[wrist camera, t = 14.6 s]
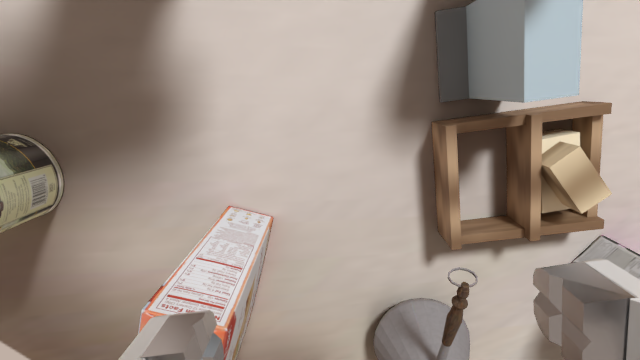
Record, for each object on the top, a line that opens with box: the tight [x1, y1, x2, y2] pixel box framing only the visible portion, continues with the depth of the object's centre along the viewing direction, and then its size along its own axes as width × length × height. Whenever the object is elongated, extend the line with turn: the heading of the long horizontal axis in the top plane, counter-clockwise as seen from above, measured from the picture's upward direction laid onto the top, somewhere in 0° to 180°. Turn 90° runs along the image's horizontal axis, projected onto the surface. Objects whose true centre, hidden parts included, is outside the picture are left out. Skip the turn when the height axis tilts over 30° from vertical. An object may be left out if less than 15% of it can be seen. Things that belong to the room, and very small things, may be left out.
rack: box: [432, 101, 612, 250], centre depth 37 cm, size 13×16×5 cm
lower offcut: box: [541, 129, 580, 213], centre depth 38 cm, size 8×4×4 cm, turn 11°
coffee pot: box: [374, 267, 477, 360], centre depth 37 cm, size 21×12×15 cm, turn 2°
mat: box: [435, 7, 469, 102], centre depth 36 cm, size 9×10×1 cm
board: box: [466, 0, 583, 102], centre depth 31 cm, size 9×4×11 cm, turn 8°
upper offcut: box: [541, 142, 612, 214], centre depth 35 cm, size 6×3×3 cm, turn 40°
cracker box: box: [138, 206, 273, 360], centre depth 34 cm, size 14×6×21 cm, turn 166°
